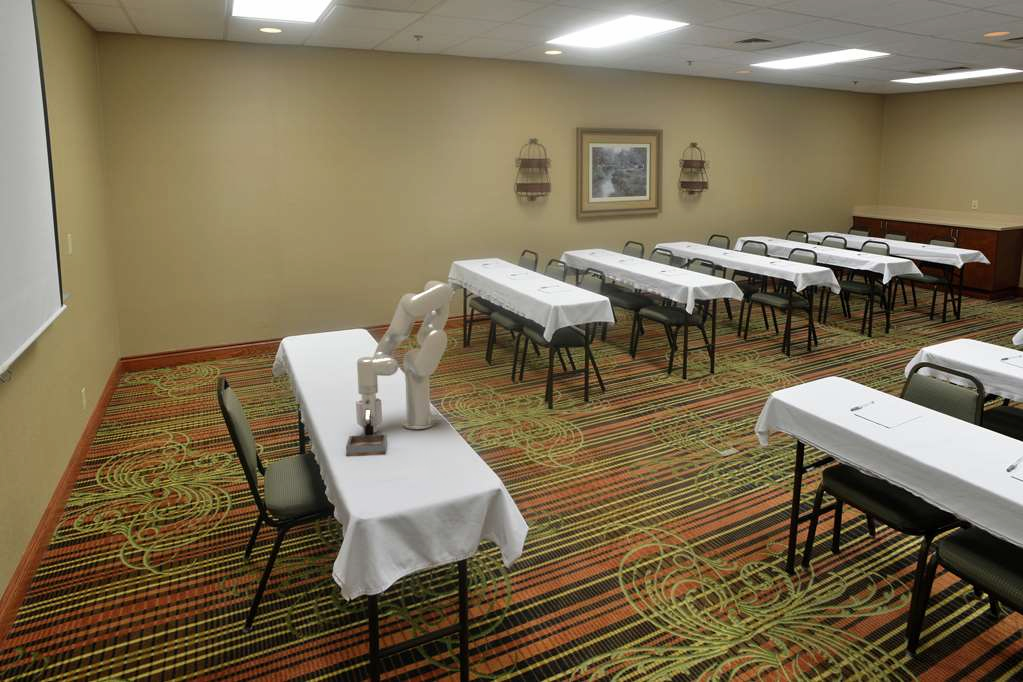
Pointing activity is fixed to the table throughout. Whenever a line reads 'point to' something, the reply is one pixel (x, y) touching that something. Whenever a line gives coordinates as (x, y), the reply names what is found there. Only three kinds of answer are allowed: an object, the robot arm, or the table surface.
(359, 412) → the charger
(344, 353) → the table surface
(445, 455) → the table surface
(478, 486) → the table surface
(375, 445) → the tray
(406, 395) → the robot arm
